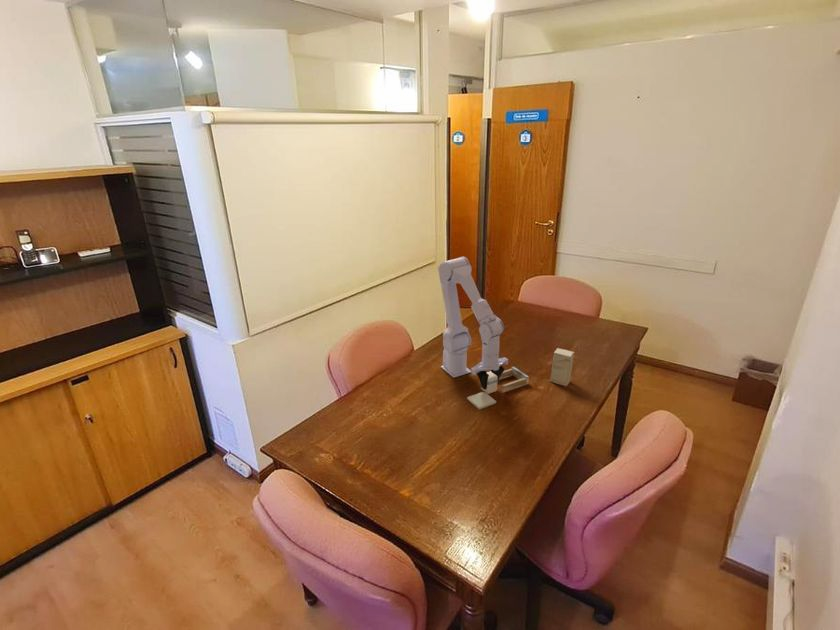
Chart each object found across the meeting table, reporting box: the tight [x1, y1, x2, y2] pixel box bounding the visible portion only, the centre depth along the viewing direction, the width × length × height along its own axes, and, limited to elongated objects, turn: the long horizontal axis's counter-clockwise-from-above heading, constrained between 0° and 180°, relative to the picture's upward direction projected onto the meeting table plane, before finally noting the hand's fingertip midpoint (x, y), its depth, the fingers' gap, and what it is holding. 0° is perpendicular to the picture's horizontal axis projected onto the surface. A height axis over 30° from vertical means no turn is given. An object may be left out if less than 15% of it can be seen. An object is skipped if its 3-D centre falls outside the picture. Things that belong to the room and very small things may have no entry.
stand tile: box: [466, 391, 497, 410], centre depth 151 cm, size 7×7×1 cm
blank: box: [480, 370, 499, 395], centre depth 156 cm, size 4×4×6 cm
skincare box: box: [549, 347, 575, 387], centre depth 159 cm, size 6×4×12 cm
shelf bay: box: [498, 366, 530, 394], centre depth 161 cm, size 8×12×3 cm
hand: (489, 386), depth 157 cm, fingers open, 4 cm apart
